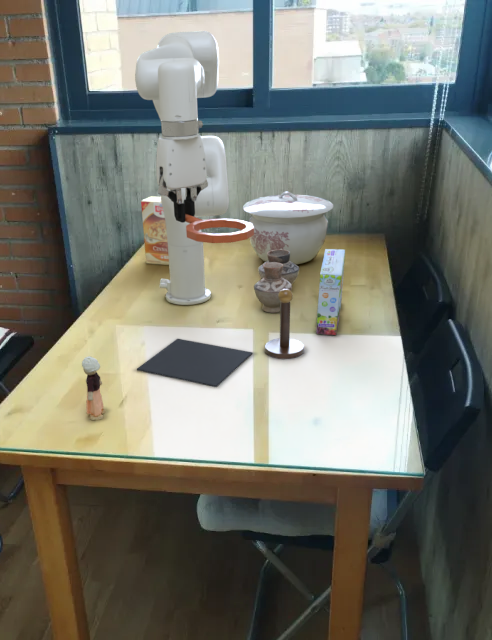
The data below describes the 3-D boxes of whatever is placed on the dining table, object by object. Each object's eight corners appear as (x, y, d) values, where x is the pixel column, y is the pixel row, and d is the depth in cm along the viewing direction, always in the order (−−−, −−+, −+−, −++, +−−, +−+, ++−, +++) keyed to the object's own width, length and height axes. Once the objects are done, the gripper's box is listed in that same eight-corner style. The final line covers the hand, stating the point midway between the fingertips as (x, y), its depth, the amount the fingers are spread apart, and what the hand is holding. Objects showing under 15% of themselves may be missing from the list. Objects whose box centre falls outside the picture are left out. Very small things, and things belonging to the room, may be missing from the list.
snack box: (338, 336, 165) (342, 275, 158) (315, 335, 166) (317, 274, 159) (342, 304, 183) (345, 247, 175) (320, 303, 184) (323, 247, 176)
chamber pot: (330, 273, 204) (334, 202, 194) (238, 272, 209) (236, 202, 198) (331, 246, 228) (334, 181, 217) (248, 245, 232) (248, 181, 222)
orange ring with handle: (266, 235, 139) (266, 227, 138) (210, 246, 133) (210, 238, 132) (203, 214, 156) (203, 206, 156) (150, 223, 150) (150, 215, 149)
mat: (136, 370, 154) (136, 368, 154) (177, 340, 167) (177, 338, 167) (216, 387, 145) (216, 385, 145) (252, 353, 159) (252, 352, 159)
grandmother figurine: (88, 407, 140) (80, 350, 133) (107, 405, 140) (100, 348, 134) (85, 426, 133) (76, 367, 127) (105, 425, 134) (97, 365, 127)
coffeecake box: (145, 263, 220) (139, 200, 210) (155, 256, 226) (150, 195, 216) (188, 267, 215) (184, 203, 205) (197, 260, 221) (194, 197, 211)
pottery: (249, 315, 179) (249, 270, 173) (260, 283, 200) (260, 242, 194) (293, 316, 177) (294, 271, 171) (299, 284, 198) (301, 242, 192)
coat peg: (258, 355, 158) (258, 293, 151) (274, 340, 165) (274, 280, 157) (295, 361, 154) (297, 298, 147) (309, 346, 161) (312, 285, 153)
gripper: (202, 123, 148) (205, 211, 157) (137, 132, 141) (145, 223, 150) (222, 126, 142) (224, 217, 152) (155, 135, 135) (162, 230, 144)
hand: (185, 219), depth 151 cm, fingers closed on orange ring with handle, 1 cm apart
